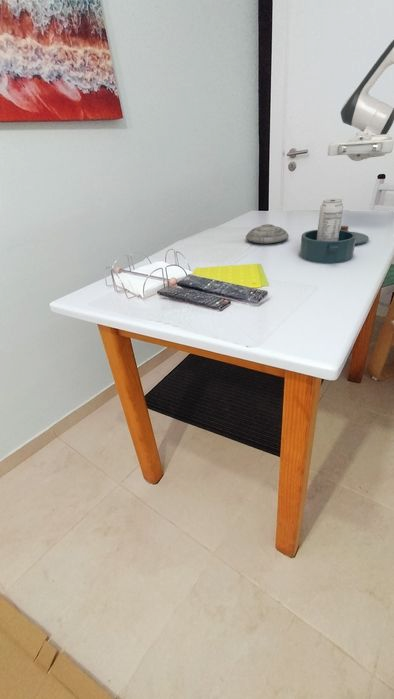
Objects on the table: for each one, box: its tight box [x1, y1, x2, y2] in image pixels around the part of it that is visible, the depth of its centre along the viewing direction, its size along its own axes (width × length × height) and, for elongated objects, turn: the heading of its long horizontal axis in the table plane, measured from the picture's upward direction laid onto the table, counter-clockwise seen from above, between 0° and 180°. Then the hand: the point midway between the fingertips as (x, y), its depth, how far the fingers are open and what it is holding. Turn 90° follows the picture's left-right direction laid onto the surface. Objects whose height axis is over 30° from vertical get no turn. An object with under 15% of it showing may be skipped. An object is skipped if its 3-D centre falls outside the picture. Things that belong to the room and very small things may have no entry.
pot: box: [299, 229, 356, 264], centre depth 100 cm, size 15×20×6 cm
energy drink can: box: [317, 198, 344, 241], centre depth 98 cm, size 6×6×15 cm
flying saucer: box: [245, 223, 290, 244], centre depth 119 cm, size 15×15×6 cm
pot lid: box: [340, 224, 369, 245], centre depth 112 cm, size 16×16×5 cm
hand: (359, 148), depth 109 cm, fingers open, 8 cm apart
